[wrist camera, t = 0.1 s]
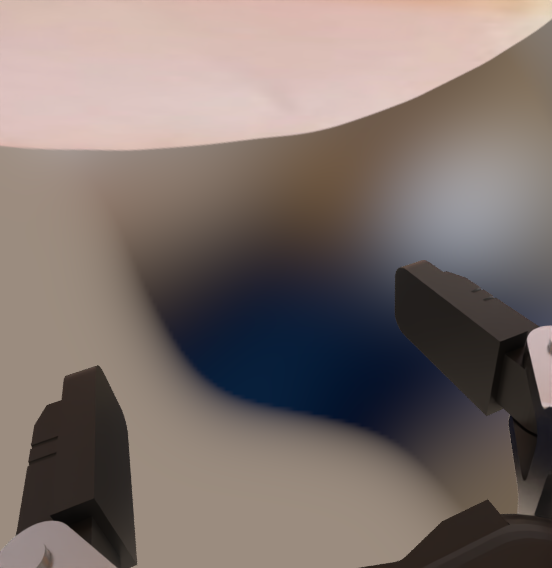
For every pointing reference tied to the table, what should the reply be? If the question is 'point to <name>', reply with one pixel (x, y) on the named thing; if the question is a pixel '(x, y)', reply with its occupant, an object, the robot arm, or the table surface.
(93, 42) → the table surface
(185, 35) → the table surface
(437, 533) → the robot arm
